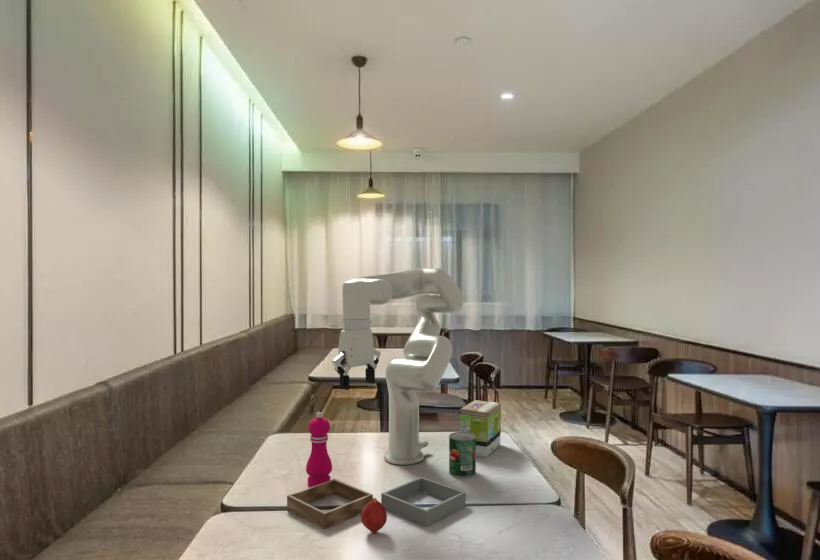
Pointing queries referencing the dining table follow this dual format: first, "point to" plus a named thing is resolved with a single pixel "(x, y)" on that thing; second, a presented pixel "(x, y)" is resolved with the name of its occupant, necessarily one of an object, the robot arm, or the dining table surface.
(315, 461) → the pepper mill
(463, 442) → the canned tomato
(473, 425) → the tea box
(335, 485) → the walnut bin
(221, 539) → the dining table surface
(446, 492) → the grey bin
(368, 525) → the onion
